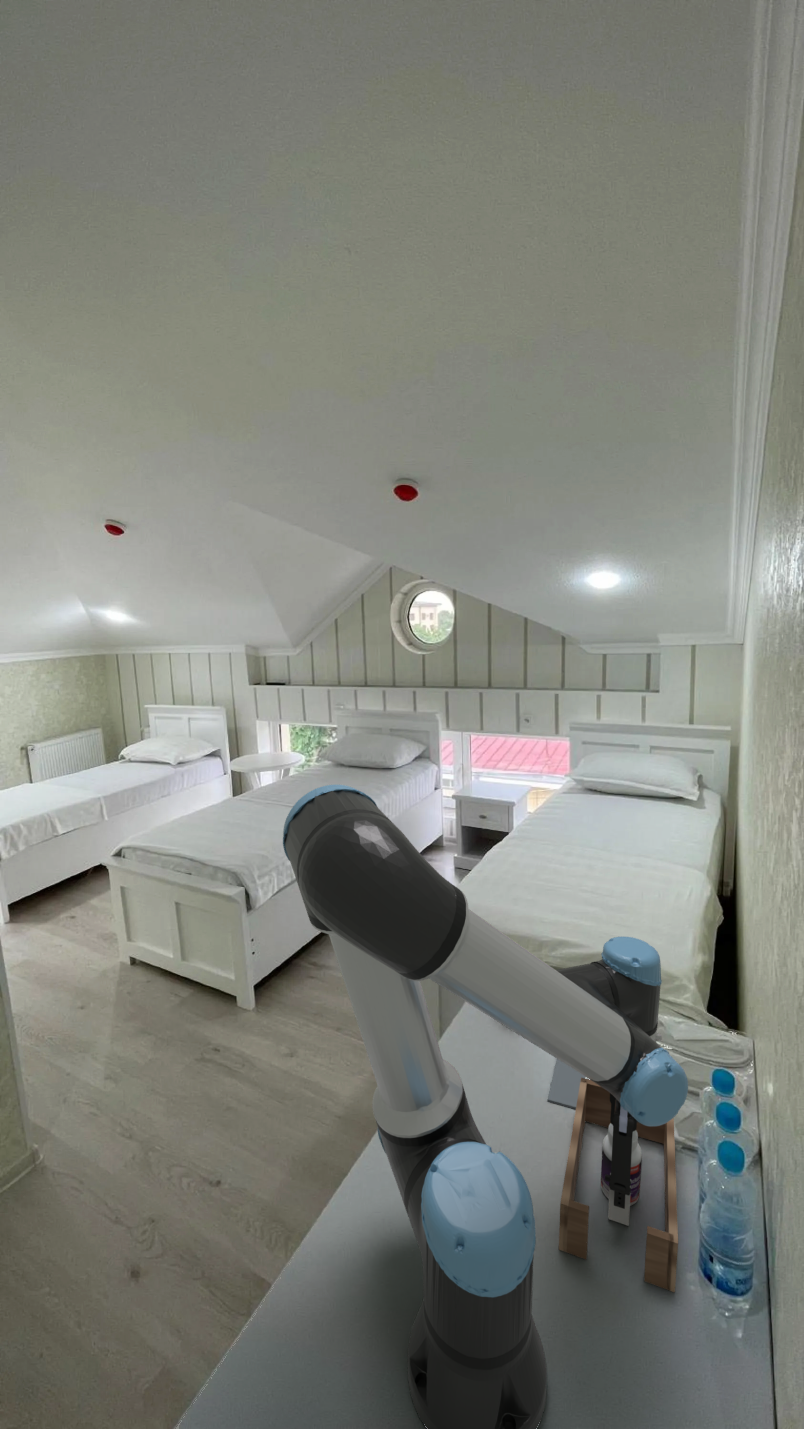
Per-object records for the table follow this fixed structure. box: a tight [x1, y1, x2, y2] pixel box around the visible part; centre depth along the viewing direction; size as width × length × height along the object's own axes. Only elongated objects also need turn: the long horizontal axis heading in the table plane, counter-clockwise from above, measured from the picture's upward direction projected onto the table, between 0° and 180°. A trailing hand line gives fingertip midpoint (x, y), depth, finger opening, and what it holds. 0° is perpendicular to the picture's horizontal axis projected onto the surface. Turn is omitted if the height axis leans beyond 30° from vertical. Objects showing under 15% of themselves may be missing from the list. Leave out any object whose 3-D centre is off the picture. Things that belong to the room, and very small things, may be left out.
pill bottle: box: [600, 1123, 643, 1207], centre depth 88 cm, size 5×5×10 cm
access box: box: [558, 1078, 679, 1293], centre depth 88 cm, size 24×14×7 cm, turn 158°
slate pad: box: [546, 1058, 586, 1110], centre depth 109 cm, size 12×12×1 cm
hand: (620, 1188), depth 89 cm, fingers open, 9 cm apart
